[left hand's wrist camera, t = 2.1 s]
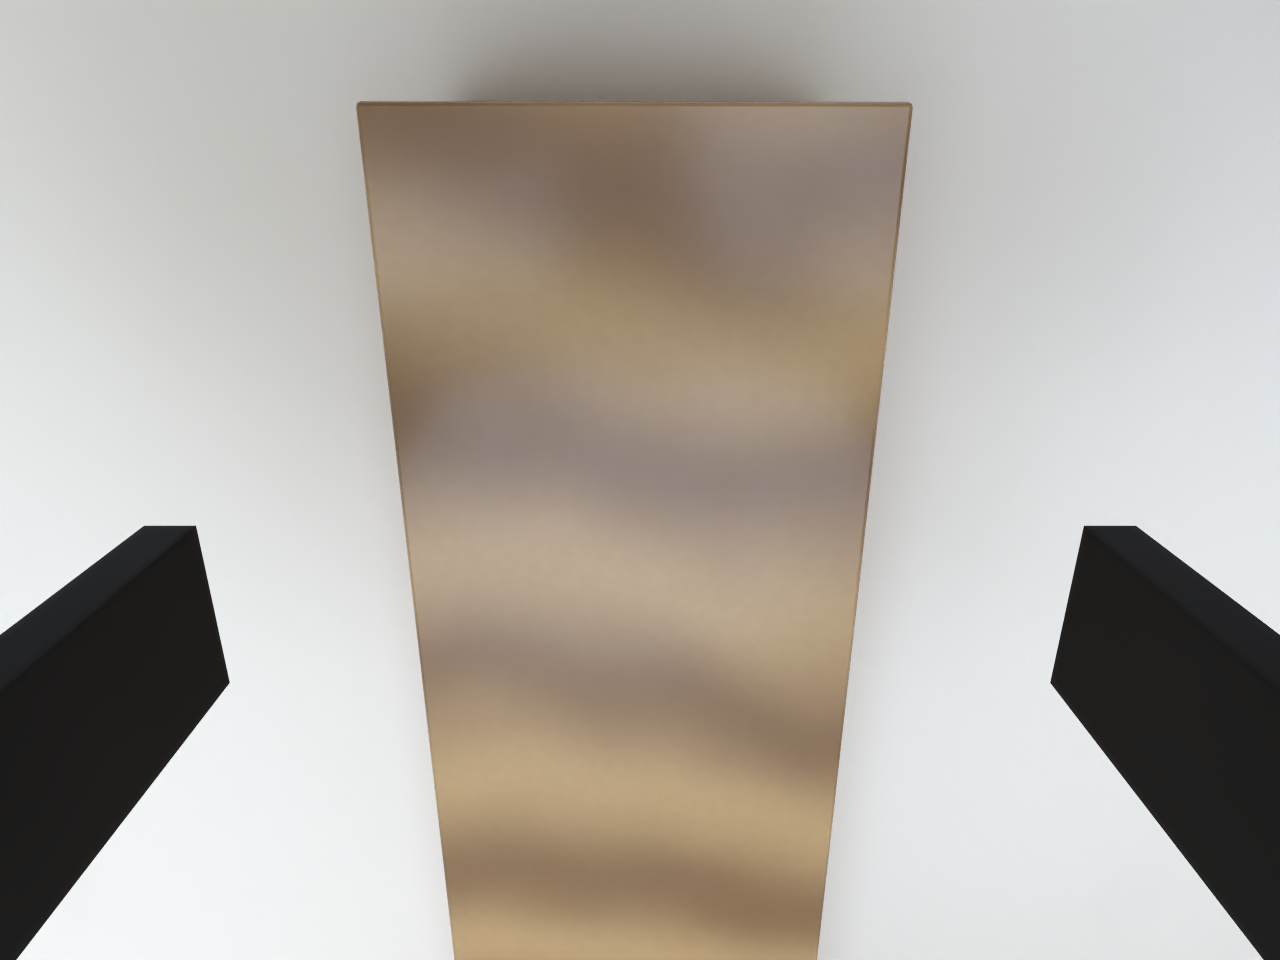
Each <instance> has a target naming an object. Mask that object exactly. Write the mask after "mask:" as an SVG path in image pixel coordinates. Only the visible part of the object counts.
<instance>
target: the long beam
mask: <svg viewBox="0 0 1280 960" xmlns="http://www.w3.org/2000/svg"><path fill="white" fill-rule="evenodd" d="M356 109H357V118H358V126H359V135H360V144H361V152H362V161H363V170H364V178H365V187H366V196H367V204H368V213H369V222H370V230H371V239H372V248H373V256H374V265H375V274H376V282H377V291H378V300H379V308H380V317H381V326H382V334H383V343H384V352H385V360H386V369H387V378H388V386H389V395H390V404H391V412H392V421H393V430H394V438H395V447H396V456H397V464H398V473H399V482H400V490H401V499H402V508H403V516H404V525H405V534H406V542H407V551H408V560H409V568H410V577H411V586H412V594H413V603H414V612H415V620H416V629H417V638H418V646H419V655H420V664H421V672H422V681H423V690H424V698H425V707H426V716H427V724H428V733H429V742H430V750H431V759H432V768H433V776H434V785H435V794H436V802H437V811H438V820H439V828H440V837H441V846H442V854H443V863H444V872H445V880H446V889H447V898H448V906H449V915H450V924H451V932H452V941H453V950H454V958H455V960H817V954H818V945H819V936H820V927H821V918H822V909H823V900H824V891H825V882H826V874H827V865H828V856H829V847H830V838H831V829H832V820H833V811H834V802H835V793H836V785H837V776H838V767H839V758H840V749H841V740H842V731H843V722H844V713H845V705H846V696H847V687H848V678H849V669H850V660H851V651H852V642H853V633H854V625H855V616H856V607H857V598H858V589H859V580H860V571H861V562H862V553H863V545H864V536H865V527H866V518H867V509H868V500H869V491H870V482H871V473H872V465H873V456H874V447H875V438H876V429H877V420H878V411H879V402H880V393H881V385H882V376H883V367H884V358H885V349H886V340H887V331H888V322H889V313H890V304H891V296H892V287H893V278H894V269H895V260H896V251H897V242H898V233H899V224H900V216H901V207H902V198H903V189H904V180H905V171H906V162H907V153H908V144H909V136H910V127H911V118H912V109H913V107H912V104H911V103H909V102H393V101H361V102H359V103H357V106H356Z"/></svg>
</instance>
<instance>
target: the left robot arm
mask: <svg viewBox="0 0 1280 960" xmlns="http://www.w3.org/2000/svg"><path fill="white" fill-rule="evenodd" d="M229 683H230V682H229V678H228V673H227V668H226V664H225V659H224V654H223V650H222V645H221V640H220V636H219V631H218V626H217V622H216V617H215V612H214V608H213V603H212V598H211V594H210V589H209V584H208V580H207V575H206V570H205V566H204V561H203V557H202V552H201V547H200V543H199V538H198V533H197V529H196V526H143V527H142V528H141V529H139V530H138V531H137V532H135V533H134V534H133V535H131V536H130V537H129V538H127V539H126V540H125V541H124V542H122V543H121V544H120V545H118V546H117V547H116V548H114V549H113V550H112V551H110V552H109V553H108V554H106V555H105V556H104V557H102V558H101V559H100V560H98V561H97V562H96V563H95V564H93V565H92V566H91V567H89V568H88V569H87V570H85V571H84V572H83V573H81V574H80V575H79V576H77V577H76V578H75V579H73V580H72V581H71V582H69V583H68V584H67V585H65V586H64V587H63V588H62V589H60V590H59V591H58V592H56V593H55V594H54V595H52V596H51V597H50V598H48V599H47V600H46V601H44V602H43V603H42V604H40V605H39V606H38V607H36V608H35V609H34V610H33V611H31V612H30V613H29V614H27V615H26V616H25V617H23V618H22V619H21V620H19V621H18V622H17V623H15V624H14V625H13V626H11V627H10V628H9V629H7V630H6V631H5V632H3V633H2V634H1V635H0V960H16V959H17V958H18V957H19V956H20V954H21V953H22V952H23V950H24V949H25V948H26V946H27V945H28V944H29V943H30V941H31V940H32V939H33V937H34V936H35V935H36V933H37V932H38V931H39V930H40V928H41V927H42V926H43V924H44V923H45V922H46V921H47V919H48V918H49V917H50V915H51V914H52V913H53V911H54V910H55V909H56V908H57V906H58V905H59V904H60V902H61V901H62V900H63V898H64V897H65V896H66V895H67V893H68V892H69V891H70V889H71V888H72V887H73V885H74V884H75V883H76V882H77V880H78V879H79V878H80V876H81V875H82V874H83V872H84V871H85V870H86V869H87V867H88V866H89V865H90V863H91V862H92V861H93V859H94V858H95V857H96V856H97V854H98V853H99V852H100V850H101V849H102V848H103V847H104V845H105V844H106V843H107V841H108V840H109V839H110V837H111V836H112V835H113V834H114V832H115V831H116V830H117V828H118V827H119V826H120V824H121V823H122V822H123V821H124V819H125V818H126V817H127V815H128V814H129V813H130V811H131V810H132V809H133V808H134V806H135V805H136V804H137V802H138V801H139V800H140V798H141V797H142V796H143V795H144V793H145V792H146V791H147V789H148V788H149V787H150V785H151V784H152V783H153V782H154V780H155V779H156V778H157V776H158V775H159V774H160V773H161V771H162V770H163V769H164V767H165V766H166V765H167V763H168V762H169V761H170V760H171V758H172V757H173V756H174V754H175V753H176V752H177V750H178V749H179V748H180V747H181V745H182V744H183V743H184V741H185V740H186V739H187V737H188V736H189V735H190V734H191V732H192V731H193V730H194V728H195V727H196V726H197V724H198V723H199V722H200V721H201V719H202V718H203V717H204V715H205V714H206V713H207V711H208V710H209V709H210V708H211V706H212V705H213V704H214V702H215V701H216V700H217V698H218V697H219V696H220V695H221V693H222V692H223V691H224V689H225V688H226V687H227V686H228V684H229ZM1050 683H1051V684H1052V686H1053V687H1054V688H1055V689H1056V691H1057V692H1058V693H1059V695H1060V696H1061V697H1062V698H1063V700H1064V701H1065V702H1066V704H1067V705H1068V706H1069V708H1070V709H1071V710H1072V711H1073V713H1074V714H1075V715H1076V717H1077V718H1078V719H1079V721H1080V722H1081V723H1082V724H1083V726H1084V727H1085V728H1086V730H1087V731H1088V732H1089V734H1090V735H1091V736H1092V737H1093V739H1094V740H1095V741H1096V743H1097V744H1098V745H1099V747H1100V748H1101V749H1102V750H1103V752H1104V753H1105V754H1106V756H1107V757H1108V758H1109V760H1110V761H1111V762H1112V763H1113V765H1114V766H1115V767H1116V769H1117V770H1118V771H1119V773H1120V774H1121V775H1122V776H1123V778H1124V779H1125V780H1126V782H1127V783H1128V784H1129V785H1130V787H1131V788H1132V789H1133V791H1134V792H1135V793H1136V795H1137V796H1138V797H1139V798H1140V800H1141V801H1142V802H1143V804H1144V805H1145V806H1146V808H1147V809H1148V810H1149V811H1150V813H1151V814H1152V815H1153V817H1154V818H1155V819H1156V821H1157V822H1158V823H1159V824H1160V826H1161V827H1162V828H1163V830H1164V831H1165V832H1166V834H1167V835H1168V836H1169V837H1170V839H1171V840H1172V841H1173V843H1174V844H1175V845H1176V847H1177V848H1178V849H1179V850H1180V852H1181V853H1182V854H1183V856H1184V857H1185V858H1186V859H1187V861H1188V862H1189V863H1190V865H1191V866H1192V867H1193V869H1194V870H1195V871H1196V872H1197V874H1198V875H1199V876H1200V878H1201V879H1202V880H1203V882H1204V883H1205V884H1206V885H1207V887H1208V888H1209V889H1210V891H1211V892H1212V893H1213V895H1214V896H1215V897H1216V898H1217V900H1218V901H1219V902H1220V904H1221V905H1222V906H1223V908H1224V909H1225V910H1226V911H1227V913H1228V914H1229V915H1230V917H1231V918H1232V919H1233V921H1234V922H1235V923H1236V924H1237V926H1238V927H1239V928H1240V930H1241V931H1242V932H1243V933H1244V935H1245V936H1246V937H1247V939H1248V940H1249V941H1250V943H1251V944H1252V945H1253V946H1254V948H1255V949H1256V950H1257V952H1258V953H1259V954H1260V956H1261V957H1262V958H1263V959H1264V960H1280V635H1279V634H1278V633H1277V632H1275V631H1274V630H1273V629H1271V628H1270V627H1269V626H1267V625H1266V624H1265V623H1263V622H1262V621H1261V620H1259V619H1258V618H1257V617H1255V616H1254V615H1253V614H1251V613H1250V612H1249V611H1247V610H1246V609H1245V608H1244V607H1242V606H1241V605H1240V604H1238V603H1237V602H1236V601H1234V600H1233V599H1232V598H1230V597H1229V596H1228V595H1226V594H1225V593H1224V592H1222V591H1221V590H1220V589H1218V588H1217V587H1216V586H1215V585H1213V584H1212V583H1211V582H1209V581H1208V580H1207V579H1205V578H1204V577H1203V576H1201V575H1200V574H1199V573H1197V572H1196V571H1195V570H1193V569H1192V568H1191V567H1189V566H1188V565H1187V564H1185V563H1184V562H1183V561H1182V560H1180V559H1179V558H1178V557H1176V556H1175V555H1174V554H1172V553H1171V552H1170V551H1168V550H1167V549H1166V548H1164V547H1163V546H1162V545H1160V544H1159V543H1158V542H1156V541H1155V540H1154V539H1153V538H1151V537H1150V536H1149V535H1147V534H1146V533H1145V532H1143V531H1142V530H1141V529H1139V528H1138V527H1137V526H1084V529H1083V533H1082V538H1081V543H1080V547H1079V552H1078V557H1077V561H1076V566H1075V570H1074V575H1073V580H1072V584H1071V589H1070V594H1069V598H1068V603H1067V608H1066V612H1065V617H1064V622H1063V626H1062V631H1061V636H1060V640H1059V645H1058V650H1057V654H1056V659H1055V664H1054V668H1053V673H1052V678H1051V682H1050Z"/></svg>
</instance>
